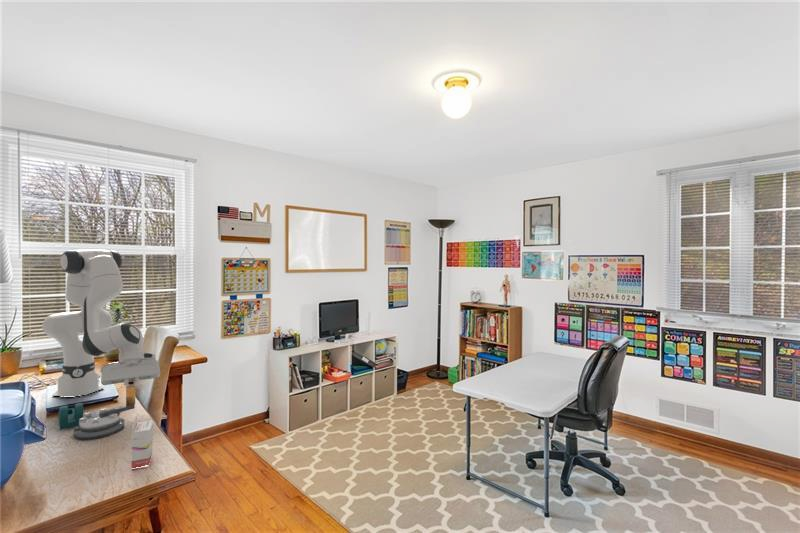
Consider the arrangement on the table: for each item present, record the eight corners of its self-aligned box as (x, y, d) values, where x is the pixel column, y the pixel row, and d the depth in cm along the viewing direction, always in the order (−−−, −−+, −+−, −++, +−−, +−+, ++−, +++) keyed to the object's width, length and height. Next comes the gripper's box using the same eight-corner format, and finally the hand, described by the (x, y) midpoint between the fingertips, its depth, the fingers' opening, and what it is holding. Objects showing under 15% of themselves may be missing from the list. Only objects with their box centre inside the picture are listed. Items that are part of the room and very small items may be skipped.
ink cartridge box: (150, 467, 120) (150, 420, 120) (130, 470, 117) (131, 423, 117) (153, 454, 127) (153, 410, 127) (135, 457, 125) (135, 413, 125)
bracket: (83, 425, 148) (83, 405, 148) (60, 430, 144) (60, 409, 144) (79, 411, 161) (79, 393, 161) (58, 415, 157) (58, 396, 157)
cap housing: (75, 428, 145) (75, 422, 145) (124, 419, 154) (124, 413, 154) (71, 444, 133) (71, 437, 133) (124, 433, 142) (124, 427, 142)
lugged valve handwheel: (86, 434, 135) (86, 401, 135) (74, 426, 142) (74, 394, 142) (141, 418, 150) (141, 388, 150) (128, 411, 157) (128, 382, 156)
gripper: (100, 360, 157) (99, 390, 149) (159, 353, 169) (161, 381, 161) (100, 368, 161) (99, 398, 153) (158, 361, 173) (160, 389, 165)
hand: (131, 389), depth 157 cm, fingers closed
